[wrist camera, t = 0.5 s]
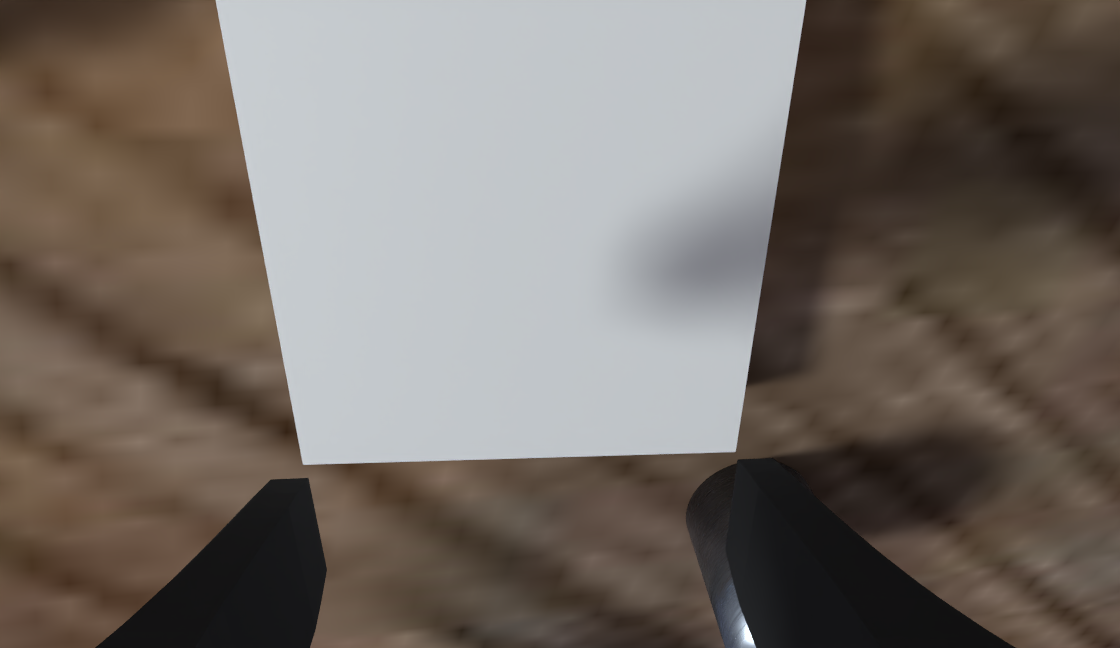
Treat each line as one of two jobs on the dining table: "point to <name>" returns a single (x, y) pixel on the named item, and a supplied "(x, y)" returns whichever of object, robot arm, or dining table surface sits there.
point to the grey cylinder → (720, 551)
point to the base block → (513, 217)
